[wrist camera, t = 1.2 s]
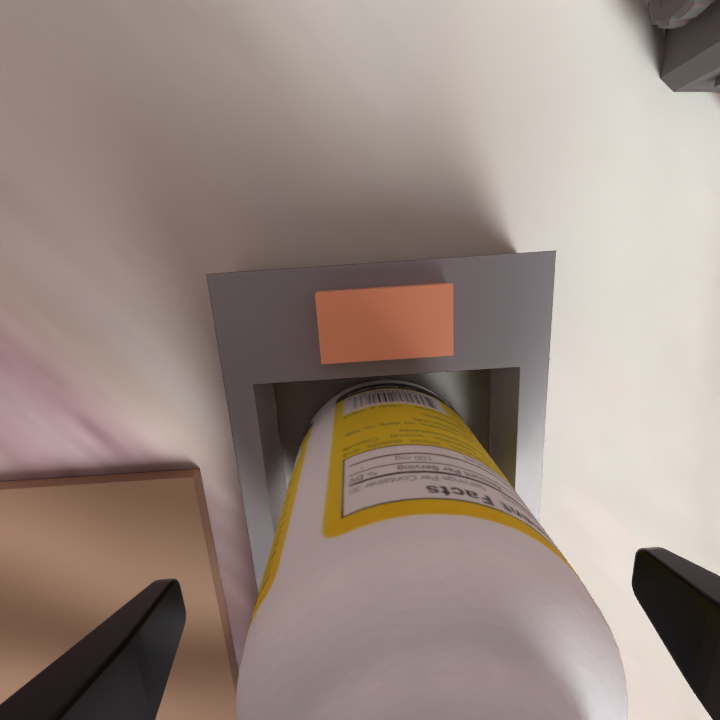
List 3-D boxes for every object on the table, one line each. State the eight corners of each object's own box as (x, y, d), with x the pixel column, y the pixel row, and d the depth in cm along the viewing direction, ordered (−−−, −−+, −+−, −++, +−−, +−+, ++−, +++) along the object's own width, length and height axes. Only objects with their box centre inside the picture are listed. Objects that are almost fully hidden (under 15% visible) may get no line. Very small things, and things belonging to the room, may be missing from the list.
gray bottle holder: (497, 790, 16) (524, 889, 13) (310, 801, 16) (301, 903, 13) (518, 253, 10) (571, 249, 8) (234, 272, 10) (195, 274, 8)
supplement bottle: (375, 555, 13) (436, 1386, 3) (266, 448, 12) (-110, 1213, 2) (503, 463, 12) (1070, 1211, 2) (398, 338, 11) (683, 811, 1)
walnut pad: (250, 737, 15) (247, 753, 14) (-48, 756, 15) (-62, 772, 14) (199, 468, 12) (192, 477, 11) (-173, 493, 12) (-195, 502, 11)
